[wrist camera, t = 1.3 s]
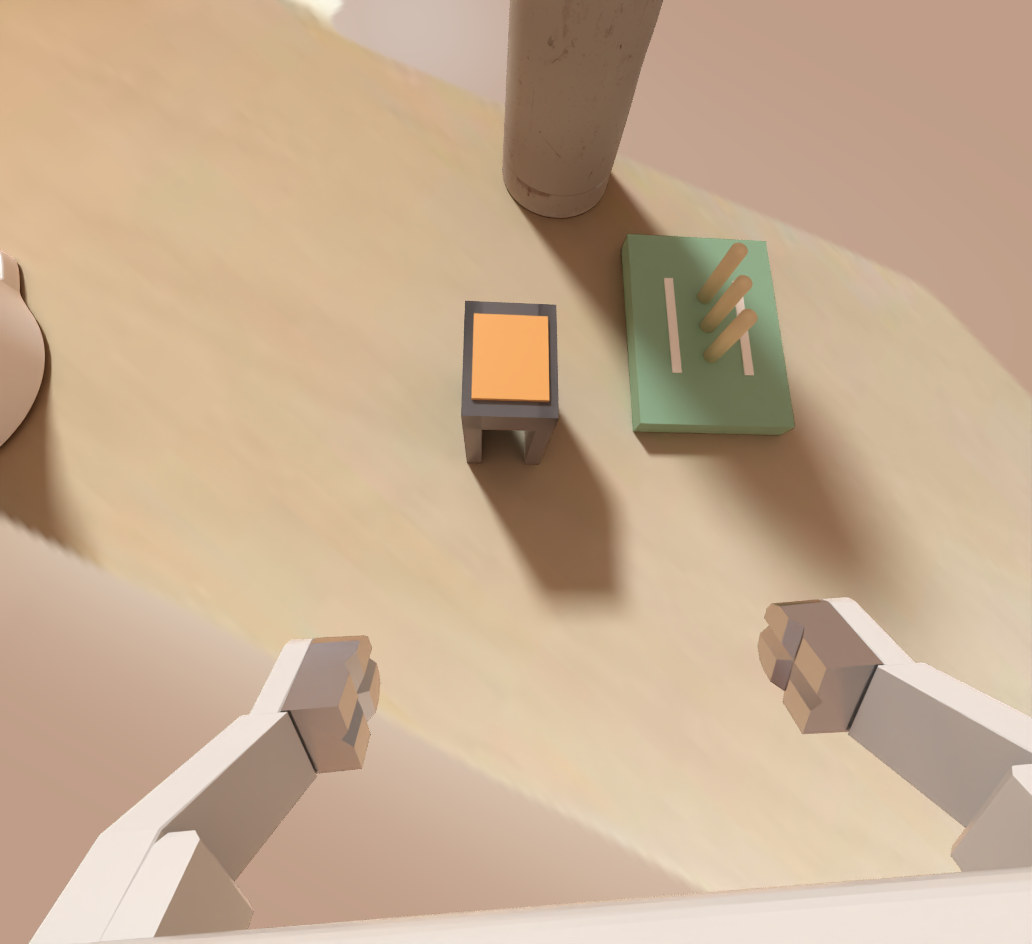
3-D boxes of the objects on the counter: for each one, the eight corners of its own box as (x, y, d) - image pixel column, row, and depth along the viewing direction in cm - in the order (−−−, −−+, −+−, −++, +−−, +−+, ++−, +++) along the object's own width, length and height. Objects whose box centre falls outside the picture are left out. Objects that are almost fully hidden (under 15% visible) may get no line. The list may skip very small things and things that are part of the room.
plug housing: (538, 464, 29) (559, 416, 21) (467, 462, 29) (461, 414, 21) (537, 376, 31) (556, 302, 23) (469, 374, 30) (464, 298, 23)
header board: (780, 435, 31) (849, 398, 25) (632, 431, 30) (668, 393, 24) (753, 256, 34) (808, 188, 29) (621, 249, 34) (649, 178, 28)
